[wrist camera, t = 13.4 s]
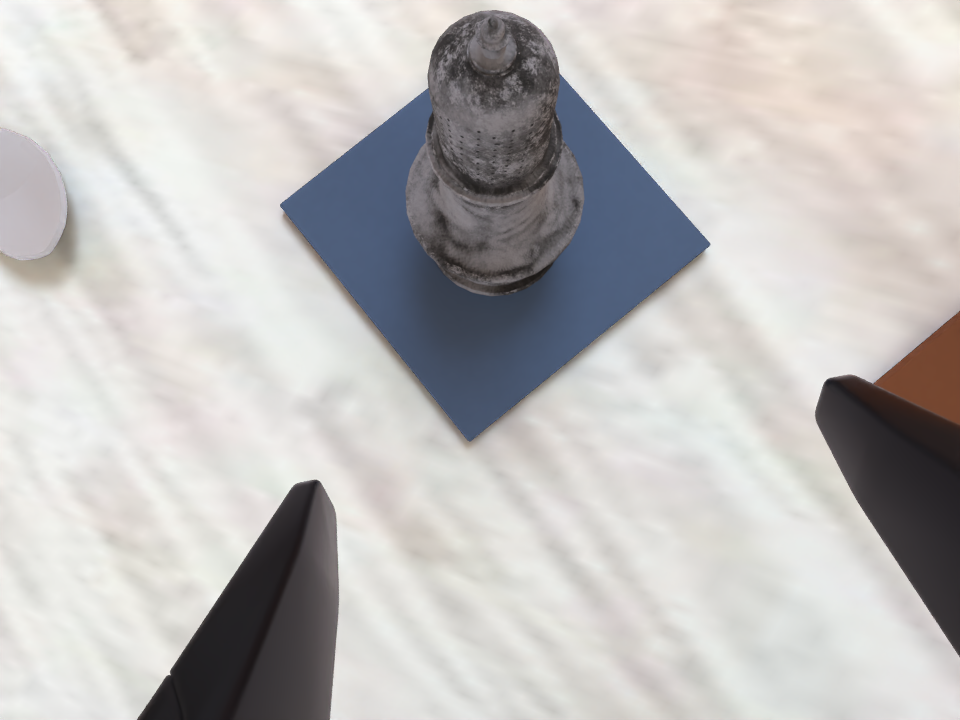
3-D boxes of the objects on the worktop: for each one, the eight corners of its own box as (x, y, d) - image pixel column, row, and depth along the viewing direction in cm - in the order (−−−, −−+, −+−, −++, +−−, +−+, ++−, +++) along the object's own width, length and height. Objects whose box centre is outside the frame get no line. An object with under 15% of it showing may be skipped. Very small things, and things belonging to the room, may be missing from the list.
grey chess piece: (516, 333, 22) (541, 237, 10) (390, 251, 22) (270, 66, 11) (599, 207, 22) (717, -28, 10) (473, 129, 23) (448, -183, 11)
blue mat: (469, 441, 22) (469, 442, 22) (284, 209, 23) (278, 204, 23) (706, 248, 23) (711, 243, 22) (512, 30, 24) (513, 20, 23)
